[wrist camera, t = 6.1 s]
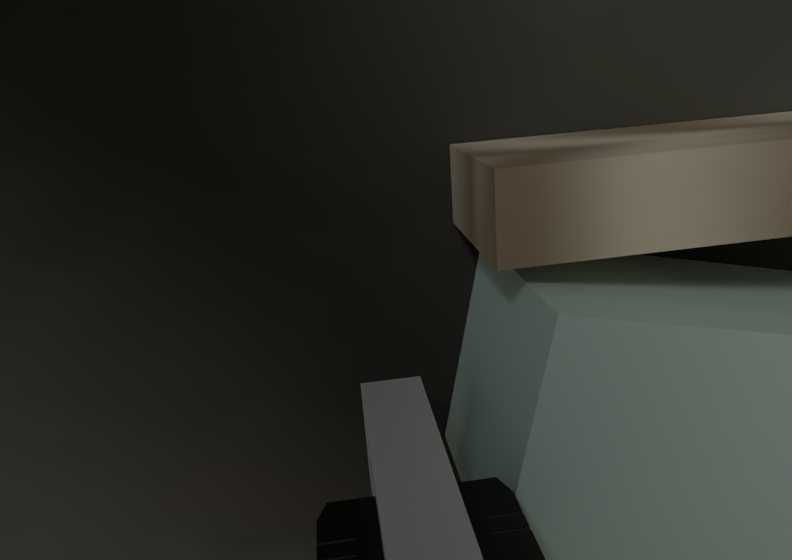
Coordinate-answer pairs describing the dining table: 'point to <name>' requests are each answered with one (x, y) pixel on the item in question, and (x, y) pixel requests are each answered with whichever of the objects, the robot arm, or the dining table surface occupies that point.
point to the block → (633, 405)
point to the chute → (624, 190)
